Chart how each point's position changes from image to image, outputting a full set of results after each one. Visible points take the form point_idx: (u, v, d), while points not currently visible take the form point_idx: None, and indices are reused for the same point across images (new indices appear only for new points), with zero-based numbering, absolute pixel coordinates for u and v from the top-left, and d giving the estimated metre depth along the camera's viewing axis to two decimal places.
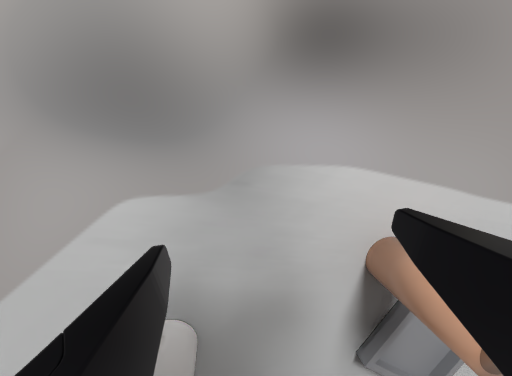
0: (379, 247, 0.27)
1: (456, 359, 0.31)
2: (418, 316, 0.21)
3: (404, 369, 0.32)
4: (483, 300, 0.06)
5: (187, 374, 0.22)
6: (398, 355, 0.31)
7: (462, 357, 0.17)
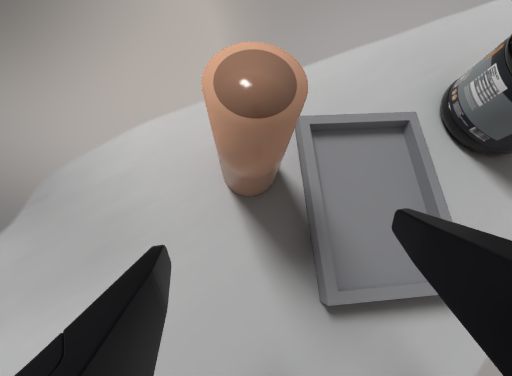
0: None
1: (438, 215, 0.22)
2: (235, 163, 0.16)
3: (402, 278, 0.21)
4: (483, 300, 0.06)
5: None
6: (372, 264, 0.21)
7: (232, 131, 0.12)
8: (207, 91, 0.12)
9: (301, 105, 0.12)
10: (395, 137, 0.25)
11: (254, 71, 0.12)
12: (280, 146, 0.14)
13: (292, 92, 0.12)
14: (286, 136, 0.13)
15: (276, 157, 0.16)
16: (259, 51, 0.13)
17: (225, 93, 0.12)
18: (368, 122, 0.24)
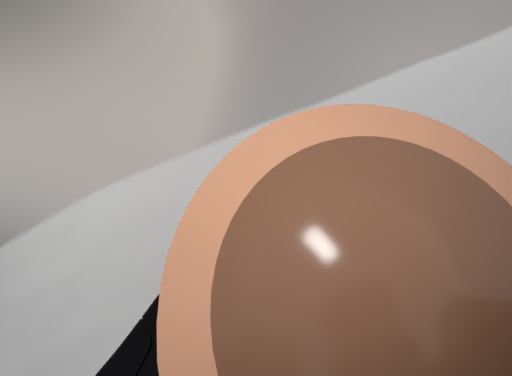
0: None
1: None
2: None
3: None
4: None
5: None
6: None
7: None
8: (182, 374, 0.02)
9: None
10: None
11: (379, 233, 0.03)
12: None
13: None
14: None
15: None
16: (383, 143, 0.03)
17: (267, 371, 0.03)
18: None
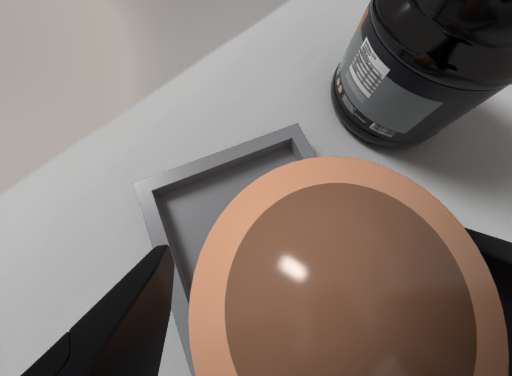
0: None
1: None
2: None
3: None
4: None
5: None
6: None
7: None
8: (206, 353, 0.04)
9: None
10: (284, 162, 0.19)
11: (342, 256, 0.04)
12: None
13: (465, 335, 0.04)
14: None
15: None
16: (349, 188, 0.05)
17: (263, 352, 0.04)
18: (237, 158, 0.17)
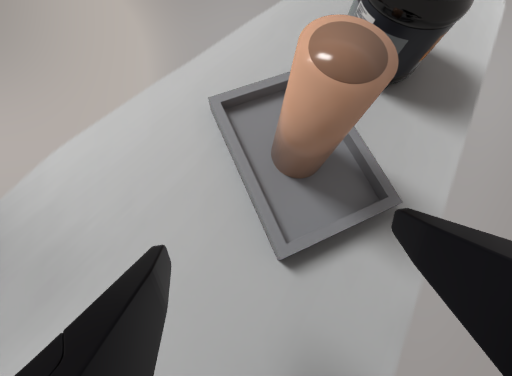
0: (272, 145, 0.23)
1: (356, 148, 0.24)
2: (308, 137, 0.16)
3: (343, 213, 0.23)
4: (483, 300, 0.06)
5: None
6: (314, 210, 0.23)
7: (326, 98, 0.12)
8: (304, 59, 0.12)
9: (394, 72, 0.12)
10: None
11: (345, 41, 0.13)
12: (358, 118, 0.15)
13: (384, 60, 0.12)
14: (369, 106, 0.14)
15: (348, 131, 0.16)
16: (347, 23, 0.13)
17: (321, 61, 0.12)
18: (274, 85, 0.26)
